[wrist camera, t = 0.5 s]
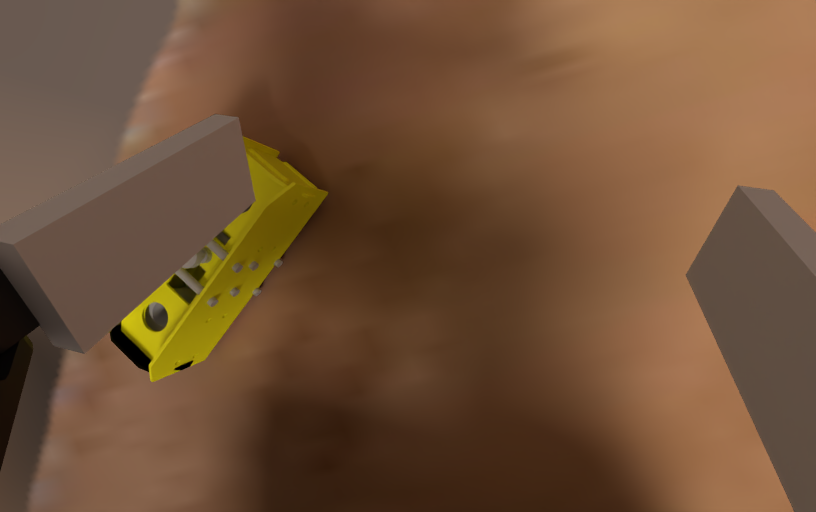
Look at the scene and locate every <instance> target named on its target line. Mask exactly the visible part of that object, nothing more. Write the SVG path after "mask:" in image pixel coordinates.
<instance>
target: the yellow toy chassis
mask: <svg viewBox="0 0 816 512" xmlns="http://www.w3.org/2000/svg"><path fill="white" fill-rule="evenodd" d="M243 141H244V146H245V151H246V156H247V160H248V165H249V170H250V175H251V180H252V185H253V190H254V195H255V200H256V201H255V202H254V203H253V204H251V205H250V206H249V207H248V208H247V209H246V210H245V211H244V212H243V213H241V214H240V215H239V216H238V217H237V218H236V219H235V220H234V221H232V222H231V223H230V224H229V225H228V226H227V227H226V228H225V229H224V230H222V231H221V232H220V233H219V234H218V235H217V236H216V237H215V238H213V239H212V240H211V241H210V242H209V243H208V244H207V245H206V246H205V247H203V248H202V249H201V250H200V251H199V252H198V253H197V254H196V255H195V256H193V257H192V258H191V259H190V260H189V261H188V262H187V263H186V264H184V265H183V266H182V267H181V268H180V269H179V270H178V271H177V272H176V273H174V274H173V275H172V276H171V277H170V278H169V279H168V280H167V281H165V282H164V283H163V284H162V285H161V286H160V287H159V288H158V289H157V290H155V291H154V292H153V293H152V294H151V295H150V296H149V297H148V298H147V299H145V300H144V301H143V302H142V303H141V304H140V305H139V306H138V307H136V308H135V309H134V310H133V311H132V312H131V313H130V314H129V315H128V316H126V317H125V318H124V319H123V320H122V321H121V322H120V323H119V324H117V325H116V326H115V327H114V328H113V329H112V330H111V331H110V336H111V341H112V342H113V343H114V344H115V345H116V346H117V347H118V348H119V349H120V350H121V351H122V352H123V353H124V354H125V355H126V356H127V357H128V358H129V359H130V360H131V361H132V362H133V363H134V364H135V365H136V366H137V367H138V368H140V369H143V370H145V371H148V372H149V373H150V380H151V381H152V382H154V381H156V380H159V379H161V378H164V377H166V376H168V375H171V374H173V373H175V372H178V371H180V370H183V369H185V368H187V367H190V366H192V365H194V364H197V363H199V362H202V361H204V360H205V359H206V358H207V356H208V355H209V353H210V352H211V351H212V349H213V348H214V347H215V345H216V344H217V343H218V341H219V340H220V339H221V337H222V336H223V335H224V333H225V332H226V331H227V329H228V328H229V327H230V325H231V324H232V323H233V321H234V320H235V319H236V317H237V316H238V314H239V313H240V312H241V310H242V309H243V308H244V306H245V305H246V304H247V302H248V301H249V300H250V298H251V297H252V296H253V294H254V295H255V296H258V295H259V294H260V293H261V290H260V289H259V286H260V285H261V284H262V282H263V281H264V279H265V278H266V277H267V275H268V274H269V273H270V271H271V270H272V269H273V267H274V266H276V267H277V268H278V267H280V266H281V265H282V263H283V261H281V260H280V258H281V257H282V255H283V254H284V253H285V251H286V250H287V249H288V247H289V246H290V245H291V243H292V242H293V240H294V239H295V238H296V236H297V235H298V234H299V232H300V231H301V230H302V228H303V227H304V226H305V224H306V223H307V222H308V220H309V219H310V218H311V216H312V215H313V214H314V212H315V211H316V210H317V208H318V207H319V206H320V204H321V203H322V201H323V200H324V199H325V197H326V196H327V195H328V192H327V191H324V190H320V189H317V187H316V186H315V185H313V184H312V183H311V182H310V181H309V180H307V179H306V178H305V177H304V176H303V175H302V174H300V173H299V172H298V171H297V170H296V169H294V168H293V167H292V166H291V165H290V164H289V163H287V162H282V161H280V160H279V159H278V158H277V156H278V155H279V154H280V152H279V151H278V150H275V149H273V148H271V147H268V146H266V145H263V144H261V143H259V142H256V141H254V140H251V139H249V138H247V137H244V136H243Z"/></svg>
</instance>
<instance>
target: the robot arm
mask: <svg viewBox="0 0 816 512" xmlns="http://www.w3.org/2000/svg"><path fill="white" fill-rule="evenodd" d="M255 201H256V200H255V195H254V190H253V185H252V180H251V175H250V170H249V165H248V160H247V156H246V151H245V146H244V141H243V136H242V131H241V126H240V121H239V117H233V116H226V115H218V114H214V115H212V116H210V117H208V118H207V119H205V120H203V121H201V122H199V123H197V124H195V125H193V126H191V127H189V128H187V129H185V130H183V131H181V132H179V133H177V134H175V135H173V136H171V137H170V138H168V139H166V140H164V141H162V142H160V143H158V144H156V145H154V146H152V147H150V148H148V149H146V150H144V151H142V152H140V153H138V154H136V155H134V156H132V157H131V158H129V159H127V160H125V161H123V162H121V163H119V164H117V165H115V166H113V167H111V168H109V169H107V170H105V171H104V172H101V173H99V174H97V175H95V176H93V177H92V178H90V179H88V180H86V181H84V182H82V183H80V184H78V185H76V186H74V187H72V188H70V189H68V190H66V191H64V192H62V193H60V194H58V195H56V196H54V197H53V198H51V199H49V200H47V201H45V202H43V203H41V204H39V205H37V206H35V207H33V208H31V209H29V210H27V211H25V212H23V213H21V214H19V215H17V216H15V217H14V218H12V219H10V220H8V221H6V222H4V223H2V224H0V470H1V466H2V463H3V459H4V456H5V452H6V448H7V445H8V441H9V437H10V433H11V429H12V426H13V423H14V419H15V415H16V411H17V408H18V404H19V400H20V396H21V393H22V389H23V386H24V382H25V378H26V374H27V371H28V367H29V364H30V360H31V356H32V353H33V344H32V342H31V341H30V339H29V338H28V337H27V334H29V333H30V332H31V331H33V330H34V329H35V328H37V327H38V326H40V327H41V328H42V330H43V331H44V332H45V334H46V335H47V337H48V338H49V339H50V341H51V342H52V344H53V345H54V346H57V347H60V348H64V349H68V350H72V351H76V352H80V353H83V354H85V353H86V352H87V351H88V350H90V349H91V348H92V347H93V346H94V345H95V344H96V343H97V342H98V341H100V340H101V339H102V338H103V337H104V336H105V335H106V334H107V333H109V332H110V331H111V330H112V329H113V328H114V327H115V326H116V325H117V324H119V323H120V322H121V321H122V320H123V319H124V318H125V317H126V316H128V315H129V314H130V313H131V312H132V311H133V310H134V309H135V308H136V307H138V306H139V305H140V304H141V303H142V302H143V301H144V300H145V299H147V298H148V297H149V296H150V295H151V294H152V293H153V292H154V291H155V290H157V289H158V288H159V287H160V286H161V285H162V284H163V283H164V282H165V281H167V280H168V279H169V278H170V277H171V276H172V275H173V274H174V273H176V272H177V271H178V270H179V269H180V268H181V267H182V266H183V265H184V264H186V263H187V262H188V261H189V260H190V259H191V258H192V257H193V256H195V255H196V254H197V253H198V252H199V251H200V250H201V249H202V248H203V247H205V246H206V245H207V244H208V243H209V242H210V241H211V240H212V239H213V238H215V237H216V236H217V235H218V234H219V233H220V232H221V231H222V230H224V229H225V228H226V227H227V226H228V225H229V224H230V223H231V222H232V221H234V220H235V219H236V218H237V217H238V216H239V215H240V214H241V213H243V212H244V211H245V210H246V209H247V208H248V207H249V206H250V205H251V204H253V203H254V202H255ZM686 277H687V279H688V281H689V283H690V285H691V288H692V290H693V292H694V294H695V296H696V298H697V301H698V303H699V305H700V307H701V309H702V312H703V314H704V316H705V318H706V320H707V322H708V325H709V327H710V329H711V331H712V333H713V335H714V338H715V340H716V342H717V344H718V346H719V349H720V351H721V353H722V355H723V357H724V359H725V362H726V364H727V366H728V368H729V370H730V372H731V375H732V377H733V379H734V381H735V383H736V386H737V388H738V390H739V392H740V394H741V396H742V399H743V401H744V403H745V405H746V407H747V410H748V412H749V414H750V416H751V418H752V420H753V423H754V425H755V427H756V429H757V431H758V433H759V436H760V438H761V440H762V442H763V444H764V447H765V449H766V451H767V453H768V455H769V457H770V460H771V462H772V464H773V466H774V468H775V470H776V473H777V475H778V477H779V479H780V481H781V484H782V486H783V488H784V490H785V492H786V494H787V497H788V499H789V501H790V503H791V505H792V507H793V510H794V512H816V233H815V232H814V231H813V229H812V228H811V227H810V226H809V225H808V224H807V223H806V222H805V221H804V220H803V219H802V218H801V217H800V216H799V215H798V214H797V213H796V212H795V211H794V210H793V209H792V208H791V207H790V206H789V205H788V204H787V203H786V202H785V201H784V200H783V199H782V198H781V197H780V196H779V195H778V194H777V193H776V192H775V191H774V190H767V189H760V188H752V187H745V186H737V188H736V190H735V191H734V193H733V195H732V196H731V198H730V200H729V202H728V203H727V205H726V207H725V208H724V210H723V212H722V214H721V215H720V217H719V219H718V220H717V222H716V224H715V226H714V227H713V229H712V231H711V232H710V234H709V236H708V238H707V239H706V241H705V243H704V244H703V246H702V248H701V250H700V251H699V253H698V255H697V256H696V258H695V260H694V262H693V263H692V265H691V267H690V268H689V270H688V272H687V274H686Z"/></svg>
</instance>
